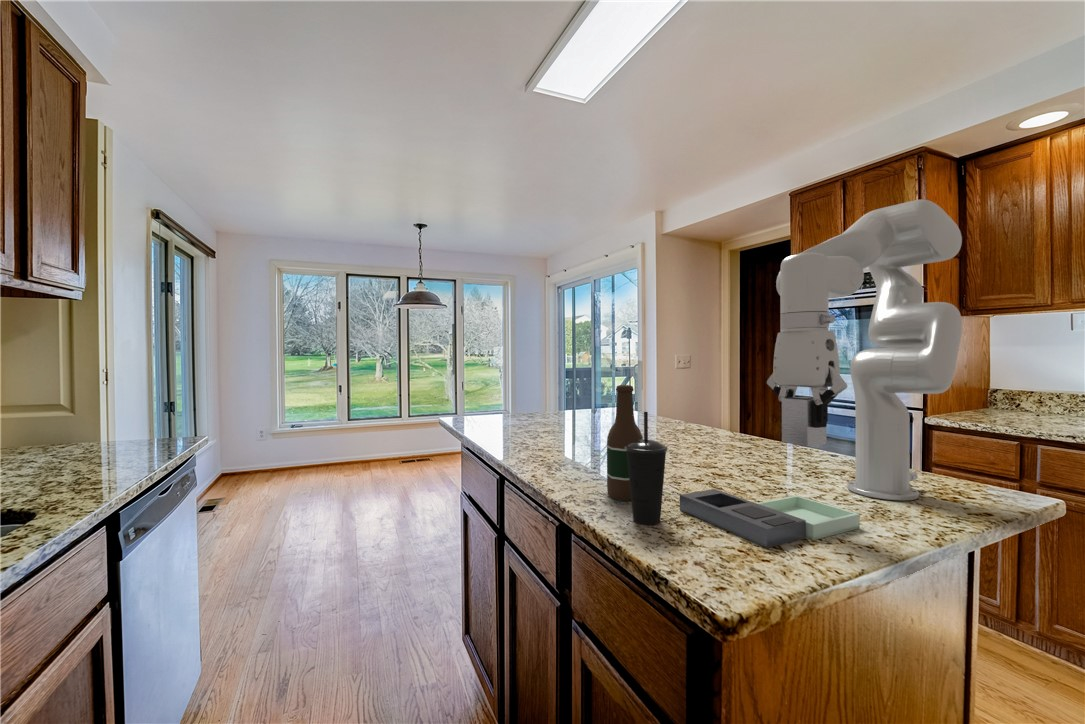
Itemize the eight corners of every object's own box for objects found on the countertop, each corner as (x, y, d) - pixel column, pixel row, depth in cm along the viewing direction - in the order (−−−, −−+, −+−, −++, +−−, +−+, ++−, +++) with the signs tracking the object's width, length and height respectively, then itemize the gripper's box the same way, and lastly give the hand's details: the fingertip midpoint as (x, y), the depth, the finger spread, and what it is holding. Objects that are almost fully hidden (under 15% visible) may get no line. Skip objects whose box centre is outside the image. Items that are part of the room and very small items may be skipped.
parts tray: (796, 508, 91) (796, 495, 91) (859, 528, 80) (859, 514, 80) (752, 517, 86) (752, 503, 86) (813, 540, 75) (813, 524, 75)
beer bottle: (644, 502, 95) (643, 386, 94) (606, 500, 96) (605, 386, 96) (643, 492, 102) (642, 384, 102) (608, 490, 104) (607, 384, 104)
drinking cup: (640, 510, 90) (639, 408, 90) (675, 520, 84) (675, 411, 84) (617, 520, 84) (616, 412, 84) (653, 531, 79) (652, 415, 79)
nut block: (800, 439, 86) (800, 396, 86) (826, 444, 81) (826, 398, 81) (781, 441, 84) (781, 397, 84) (807, 446, 79) (807, 399, 79)
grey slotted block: (714, 503, 94) (714, 488, 94) (805, 538, 76) (805, 519, 76) (679, 509, 90) (679, 494, 90) (767, 548, 72) (766, 528, 72)
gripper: (866, 321, 76) (866, 430, 76) (776, 327, 92) (777, 418, 92) (837, 319, 73) (837, 433, 73) (749, 326, 89) (749, 420, 89)
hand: (803, 424), depth 83 cm, fingers closed on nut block, 5 cm apart
